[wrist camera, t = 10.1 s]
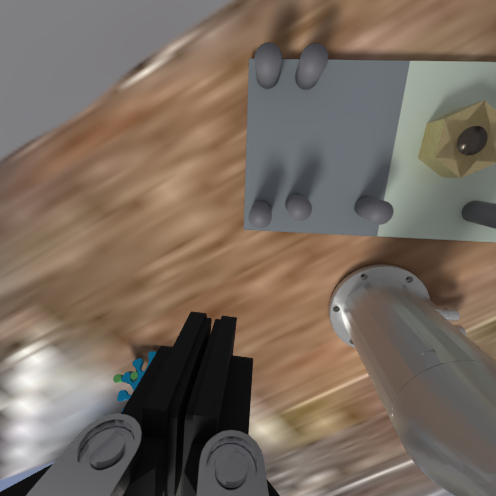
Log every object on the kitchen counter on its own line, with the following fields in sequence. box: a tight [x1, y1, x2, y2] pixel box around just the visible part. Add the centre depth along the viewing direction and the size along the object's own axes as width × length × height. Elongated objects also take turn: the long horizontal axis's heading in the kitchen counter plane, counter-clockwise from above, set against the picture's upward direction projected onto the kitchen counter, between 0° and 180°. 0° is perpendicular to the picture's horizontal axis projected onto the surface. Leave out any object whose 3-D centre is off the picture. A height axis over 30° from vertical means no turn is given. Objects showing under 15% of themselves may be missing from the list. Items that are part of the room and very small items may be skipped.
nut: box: [418, 100, 496, 178], centre depth 26 cm, size 6×7×3 cm
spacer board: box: [244, 43, 496, 242], centre depth 27 cm, size 34×18×6 cm, turn 88°
